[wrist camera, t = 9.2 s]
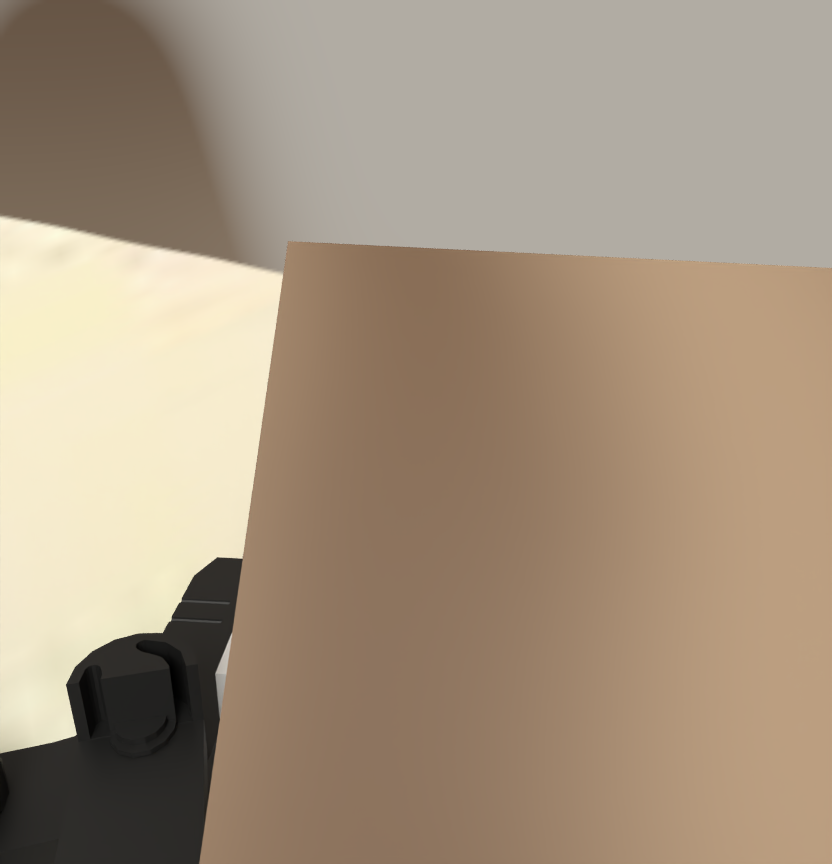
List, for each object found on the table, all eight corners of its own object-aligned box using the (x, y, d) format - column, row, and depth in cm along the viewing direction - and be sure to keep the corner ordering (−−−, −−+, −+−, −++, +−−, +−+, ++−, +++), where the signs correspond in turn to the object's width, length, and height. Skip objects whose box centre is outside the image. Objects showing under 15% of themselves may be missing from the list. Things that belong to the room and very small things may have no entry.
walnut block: (600, 527, 17) (898, 271, 7) (619, 907, 14) (1196, 1491, 4) (360, 515, 17) (288, 241, 7) (329, 890, 14) (118, 1427, 4)
